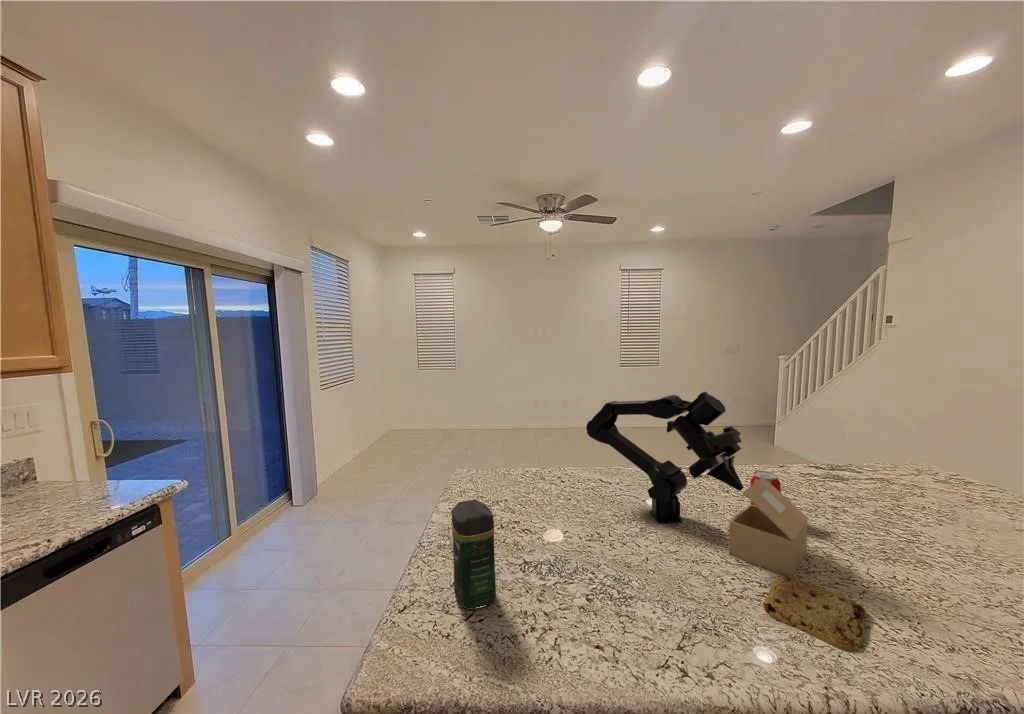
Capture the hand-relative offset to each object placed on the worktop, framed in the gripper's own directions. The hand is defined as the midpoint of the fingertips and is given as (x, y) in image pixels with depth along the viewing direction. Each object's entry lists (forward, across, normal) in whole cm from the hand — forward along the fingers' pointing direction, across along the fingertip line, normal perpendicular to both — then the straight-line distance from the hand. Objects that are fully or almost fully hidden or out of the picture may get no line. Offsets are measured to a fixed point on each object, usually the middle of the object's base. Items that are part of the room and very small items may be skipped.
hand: (741, 489), depth 94 cm
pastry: (+22, -15, -2) cm, 27 cm away
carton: (+14, 0, +6) cm, 15 cm away
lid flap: (+6, 0, -3) cm, 7 cm away
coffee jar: (-12, -58, +31) cm, 66 cm away
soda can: (+9, +19, +10) cm, 24 cm away
